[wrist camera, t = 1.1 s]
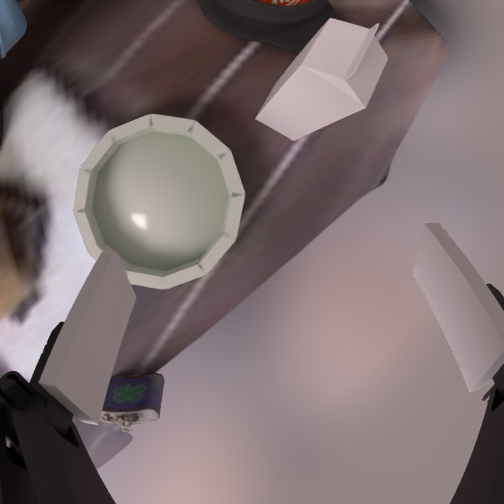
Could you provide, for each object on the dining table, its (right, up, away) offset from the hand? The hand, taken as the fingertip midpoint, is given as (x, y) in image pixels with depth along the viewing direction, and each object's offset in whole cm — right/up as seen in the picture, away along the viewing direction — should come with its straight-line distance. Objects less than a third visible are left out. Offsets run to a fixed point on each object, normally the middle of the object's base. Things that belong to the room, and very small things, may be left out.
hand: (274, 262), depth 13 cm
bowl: (-12, +7, +25) cm, 29 cm away
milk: (+3, +19, +25) cm, 32 cm away
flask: (-18, -19, +29) cm, 39 cm away
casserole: (0, +37, +21) cm, 43 cm away
